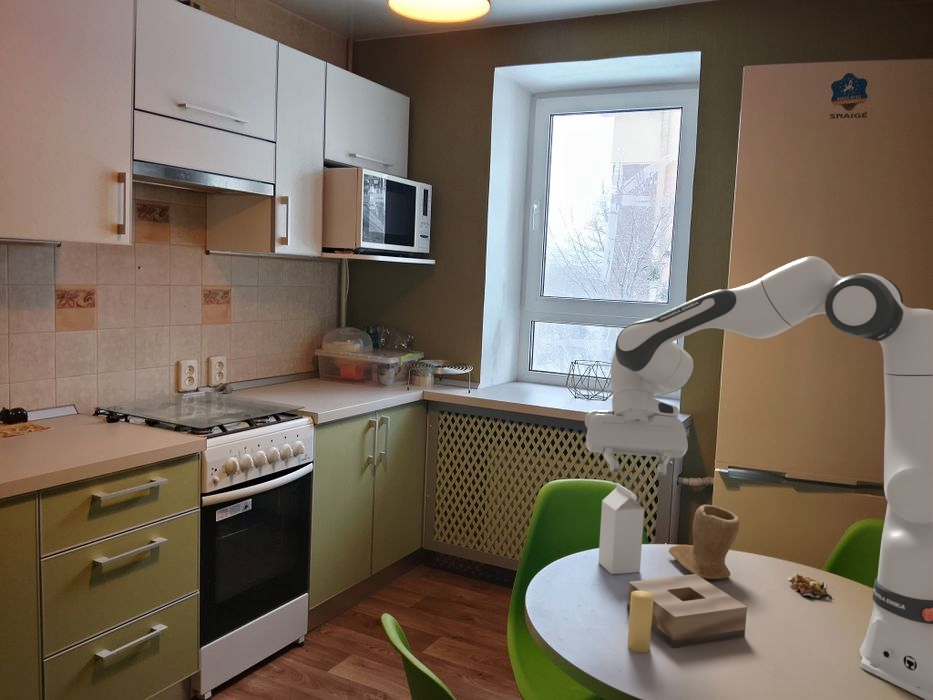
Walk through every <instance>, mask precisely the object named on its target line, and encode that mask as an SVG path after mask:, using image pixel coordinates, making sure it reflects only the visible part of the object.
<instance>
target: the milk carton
mask: <svg viewBox="0 0 933 700" xmlns="http://www.w3.org/2000/svg"><path fill="white" fill-rule="evenodd" d="M615 486H616V487H615V488H614V489H613V490H612V491H611V492H609V494H608V495H607V496H605V497H604V498H603V499H602V500H601V515H600V532H599V547H598V548H599V550H598V564H599V565H601V566H602V567H603V568H604V569H605V570H606V571H607V572H608V573H609V574H611V575H619V574H621V575H622V574H630V573H631V574H633V573H640V572H641V561H642V549H643V548H642V547H643V545H642V544H643V531H644V529H643V528H644V520H645V519H644V518H645V517H644V516H645V514H644V513H645V508H644V507H643V506H642V505H641V504H640V503H638V502H637V499H638V496H637V495H636V494H635V493H634V492H632V491H630V490H628V488H626V487H625V486H622V485H621V484H619V483H618V482H617V483H616V485H615Z"/></svg>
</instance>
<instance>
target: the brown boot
mask: <svg viewBox="0 0 933 700" xmlns="http://www.w3.org/2000/svg"><path fill="white" fill-rule="evenodd" d="M739 530H740V519H739V517H738V515H736V514H735V513H733V512H731V511H729V510H728V509H725V508H721V507H719V506H715V505H713V504H712V505H710V504H702V505H700V506H699V507H698V508H697V509H696V511H695V513H694V518H693V523H692V539H693V540H692V541H693V542H692V543H693V545H691V544H690V545H689V544H677V545H674V546H671V547H669V549H668V553H669V554H670V555H671V556H672V557H673V559H675V560H676V561H677V562H678V563H679V564H680V565H681V566H682V567H683V568H685V569H686V570H687V571H688V572H689V573H691V574H697V575H698V576H700V577H701V578H703V579H705V580H706V579H708V580H723V579H727V578H730V576H731V572H730V570H729V568H728V567H727V564H726V563H725V562H726V557H727V555H728V553H729V551H730V549H731V547H732V545H733V544H734V543H735V540H736V537H737V536H738V533H739Z"/></svg>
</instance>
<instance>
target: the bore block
mask: <svg viewBox="0 0 933 700" xmlns="http://www.w3.org/2000/svg"><path fill="white" fill-rule="evenodd" d="M627 588H628V589H627V602H626V603H627V604H626V611H627V613H629V614H630V602H631V593H632V592H633V591H638V590H639V591H646V592H649V593H651V594H652V595H653V596H654V597H653V611H652V626H651V632H652V633H654V635H656V636H657V637H659V638H660V639H661V640H663V642H665V643H666V644H667V645H669V647H671V648H672V649H676V648H683V647H688V646H694V645H695V646H696V645H701V644H708V643H714V642H722V641H727V640H733V639H734V640H735V639H740V638H745V636H746V627H747V626H746V624H747V623H746V622H747V613H748V606H747V605H745V604H744V603H742V602H741V601H739V600H737V599H736V598H734V597H732V596H731V595H729V594H728V593H726V592H724V590H721V589H720V588H718V587H717V586H715V585H714V584H712V583H711V582H709V581H707V580H706V579H705V578H701V577H700V576H698V575H697V574H692V573H691V574H684V575H676V576H669V577H668V576H667V577H660V578H659V577H658V578H651V579H642V580H636V581H635V580H634V581H628V587H627Z"/></svg>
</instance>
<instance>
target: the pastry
mask: <svg viewBox="0 0 933 700" xmlns="http://www.w3.org/2000/svg"><path fill="white" fill-rule="evenodd" d="M787 579H788V581H791V582H792V584H791V585H789V587H790V588H791V589H792V590H793V591H794V592H797V591H799V590H800V594H801V595H803V596H809V597H812V598H817V599H818V598H820V597H821V596H823V595H825V596H826V595H827V597H829V598H828V599H830V600H835V598H834V596H832V595H831V594H829V593H828V591H827V590H828V585H827V583H825V582H823V581H822V583H820V581H818V580H817V579H813V578H810V577H809V576H807V575H804V576H803V575H802V574H800V573H796V574H791V575H790V576H788V577H787Z"/></svg>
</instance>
